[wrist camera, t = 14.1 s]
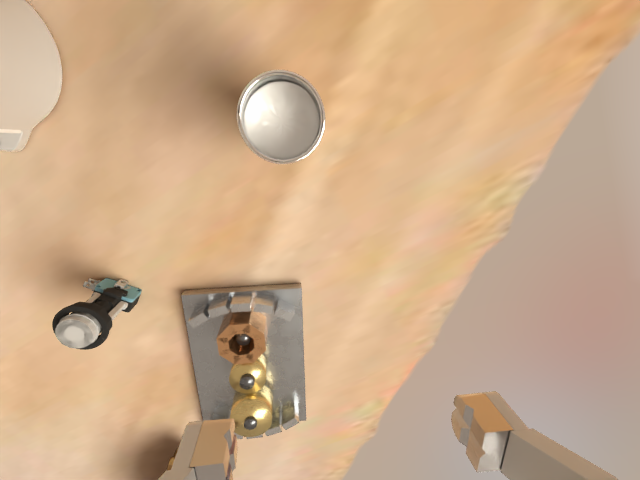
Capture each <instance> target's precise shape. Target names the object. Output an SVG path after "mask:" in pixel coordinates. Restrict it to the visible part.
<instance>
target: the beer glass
mask: <svg viewBox="0 0 640 480" xmlns="http://www.w3.org/2000/svg"><path fill="white" fill-rule="evenodd" d="M237 124H238V128H239V132H240V134H241V136H242V139H243V140H244V142H245V144H246V145H247V146H248V147H249V149H250V150H251V151H252V152H253V153H255V154H256V155H257V156H258V157H260V158H262V159H264V160H266V161H268V162H271V163H276V164H291V163H295V162H298V161H300V160H302V159H304V158H305V157H307V156H308V155H309V154H311V153H312V152H313V151H314V149H315V148H316V147H317V146H318V144H319V142H320V140H321V138H322V136H323V132H324V128H325V110H324V105H323V102H322V100H321V97H320V95H319V93H318V92H317V90H316V89H315V87H314V86H313V85H312V84H311V83H310V82H309V81H308V80H307V79H305V78H304V77H302V76H301V75H299V74H297V73H295V72H292V71H288V70H279V69H278V70H270V71H266V72H264V73H261V74H259V75H258V76H256V77H255V78H253V79H252V80H251V81H250V82H249V83H248V84H247V85H246V87H245V88H244V90H243V91H242V93H241V95H240V98H239V101H238V105H237Z"/></svg>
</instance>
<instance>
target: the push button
mask: <svg viewBox="0 0 640 480" xmlns="http://www.w3.org/2000/svg"><path fill="white" fill-rule="evenodd" d="M91 281H94V283H91ZM122 281H123V282H125V283H121V282H122ZM128 283H129V282H128V281H126V280H123V279H120V280H119V281H115V280H112V279H109V278H105V279H104V280H102V281H100V280H98V281H97V280H94V279H91V278H89V279H88V282H86V281H85V282H84V285H83V287H86V288H89V289H92V291H94V292H93V294H92V296H91V298H90V299H88V300H87V301H86V302H78V303H75V304H73V305H71V306H68V307H65V308H63V309H62V310H61V311H59V312H58V313H57V314H56V315H55V317H54V319H53V324H52V325H53V330H54V333H55V335H56V337H57V339H58V340H59V341H60V342H61V343H62V344H63V345H65V346H68V347H70V348H76V349H92V348H95V347H97V346H99V345H101V344H102V343H103V342H104V341H105V340H106V338H107V337H108V334H109V330H110V329H111V327H112V320H113V319H114V318H115V317H116V316H117V315H118V314H119V313H120V312H121V311H124V312H130V311H131V309H132V308H133V307H134V306H135V305H136V304H137V302H138V299H139V296H140V294H141V291H142V290H141V289H139V288H135V287H132V286H129V285H127V284H128ZM87 284H89V285H90V286H89V287H88V286H87ZM70 312H72V313H71V314H70V315H69V313H70ZM101 332H102V333H101ZM100 333H101V335H99V334H100ZM98 335H99V336H98Z"/></svg>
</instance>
